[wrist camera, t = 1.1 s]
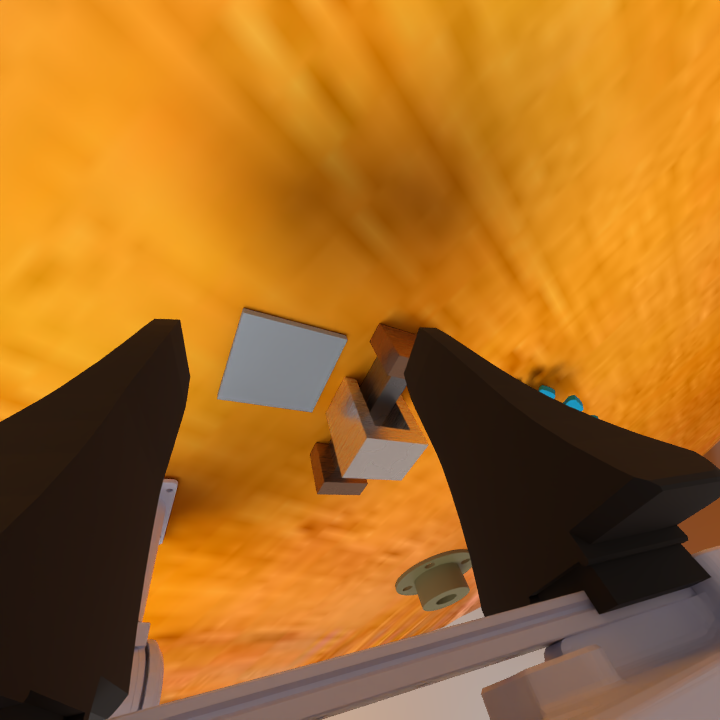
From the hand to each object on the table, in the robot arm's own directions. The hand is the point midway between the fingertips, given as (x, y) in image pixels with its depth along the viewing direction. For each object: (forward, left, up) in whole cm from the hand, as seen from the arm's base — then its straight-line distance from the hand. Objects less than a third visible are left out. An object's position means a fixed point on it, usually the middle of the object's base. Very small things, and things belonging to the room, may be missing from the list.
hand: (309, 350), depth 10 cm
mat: (-8, -2, -11) cm, 13 cm away
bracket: (-10, -10, -11) cm, 18 cm away
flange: (-45, -42, -11) cm, 62 cm away
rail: (-10, -10, -11) cm, 17 cm away
